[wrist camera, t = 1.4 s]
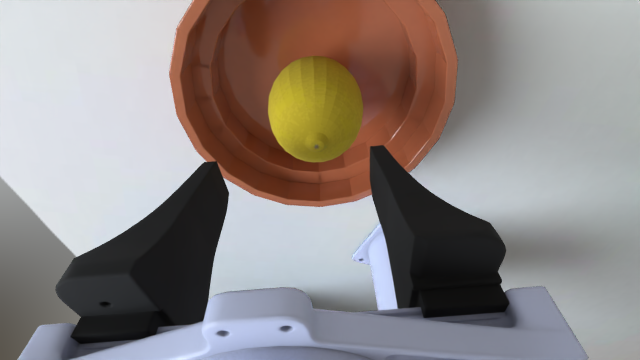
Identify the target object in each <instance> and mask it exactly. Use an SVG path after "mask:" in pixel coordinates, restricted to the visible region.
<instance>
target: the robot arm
mask: <svg viewBox="0 0 640 360" xmlns="http://www.w3.org/2000/svg"><path fill="white" fill-rule="evenodd" d="M370 185H371V191H372V197H373V201H374V204H375V207H376V211H377V214H378V217H379V221H380V224H379V225H378V226H377V227H376V229H375V230H374V231H373V232H372V233H371V234H370V236H369V237H368V238H367V239H366V240H365V241H364V243H363V244H362V245H361V246H360V247H359V249H358V250H357V251H356V252H355V253H354V254H353V256H352V258H353V260H354V261H356V262H360V263H364V264H368V265H371V271H372V277H373V282H374V288H375V294H376V300H377V305H378V310H375V311H362V312H342V311H332V310H322V309H313V307H312V302H311V299H310V298H309V297H308V295H307V294H306V293H305V292H303V291H301V290H298V289H296V288H286V287H280V288H268V289H255V290H243V291H230V292H224V293H220V294H216V295H215V296H213V297H212V298H211V299H210V300H209V301H208V297H209V289H210V281H211V274H212V268H213V261H214V256H215V252H216V248H217V244H218V241H219V237H220V234H221V230H222V227H223V223H224V219H225V216H226V212H227V205H228V197H229V192H228V189H227V187H226V184H225V181H224V179H223V176H222V174H221V171H220V168H219V166H218V163H217V161H212V162H204V163H203V164H202V165H201V166H200V167H199V168H198V169H197V170H196V171H195V172H194V173H193V174H192V175H191V176H190V177H189V178H188V179H187V180H186V181H185V182H184V183H183V184H182V185H181V186H180V187H179V189H178V190H176V191H175V192H174V193H173V194H172V195H171V196H170V197H169V198H168V199H167V200H166V201H165V202H164V203H163V204H161V205H160V206H159V207H158V208H157V209H155V210H154V211H153V212H152V213H150V214H149V215H148V216H147V217H145V218H144V219H143V220H141V221H140V222H138V223H137V224H135V225H134V226H132V227H131V228H129V229H128V230H126V231H125V232H123V233H122V234H120V235H118V236H117V237H115V238H113V239H111V240H110V241H108V242H106V243H104V244H102V245H101V246H99V247H97V248H95V249H93V250H91V251H89V252H87V253H84V254H82V255H80V256H78V257H76V258H74V259H73V261H72V262H71V264H70V265H69V267H68V268H67V270H66V271H65V273H64V274H63V276H62V278H61V279H60V281H59V282H58V284H57V285H56V293H57V295H58V297H59V298H60V299H61V300H62V301H63V302H64V303H65V304H66V305H67V306H69V307H70V308H71V309H72V310H73V311H75V312H76V313H77V314H78V315H79V316H81V318H80V320H79V322H78V324H77V325H75V324H71V323H60V324H48V325H41V326H39V327H38V328H37V330H36V332H35V333H34V335H33V336H32V338H31V339H30V341H29V343H28V344H27V346H26V347H25V349H24V351H23V352H22V354H21V355H20V357H19V358H18V360H588V358H589V357H588V356H587V354H586V352H585V351H584V349H583V348H582V346H581V344H580V343H579V341H578V339H577V338H576V336H575V335H574V333H573V331H572V330H571V328H570V327H569V325H568V323H567V322H566V320H565V318H564V317H563V315H562V314H561V312H560V310H559V309H558V307H557V306H556V304H555V302H554V301H553V299H552V297H551V296H550V294H549V293H548V291H547V289H546V288H545V287H543V286H536V287H523V288H513V289H509V290H507V291H506V292H505V293H504V291H503V289H502V287H501V285H500V284H501V283H502V279H501V277H500V275H499V273H498V270H499V267H500V265H501V263H502V261H503V259H504V256H505V252H506V248H505V245H504V243H503V241H502V240H501V238H500V236H499V235H498V233H497V232H496V230H495V229H494V228H493V227H492V225H491V224H490V223H489V222H487V221H485V220H482V219H480V218H477V217H475V216H472V215H470V214H468V213H466V212H464V211H462V210H460V209H458V208H456V207H454V206H452V205H450V204H449V203H447V202H445V201H444V200H442V199H440V198H439V197H437V196H436V195H434V194H433V193H431V192H430V191H429V190H427V189H426V188H425V187H423V186H422V185H421V184H420V183H419V182H417V181H416V180H415V179H414V178H413V177H412V176H411V175H410V174H409V173H408V172H407V171H406V170H405V169H404V168H403V167H402V166H401V165H400V164H399V163H398V162H397V161H396V160H395V158H394V157H393V156H392V155H391V154H390V152H389V151H388V150H387V149H386V147H385V146H384V145H378V146H370Z"/></svg>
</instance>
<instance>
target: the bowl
mask: <svg viewBox="0 0 640 360" xmlns="http://www.w3.org/2000/svg"><path fill="white" fill-rule="evenodd" d="M308 56H324V57H327V58H330V59H333V60H335V61H337V62H338V63H340V64H341V65H343V66H344V67H345V68H346V69H347V70H348V71H349V72H350V73H351V74H352V76H353V77H354V78H355V80H356V82H357V84H358V87H359V89H360V91H361V96H362V102H363V116H362V124H361V127H360V130H359V133H358V135H357V137H356V139H355V141H354V142H353V144H352V145H351V146H350V147H349V149H348V150H346V151H345V152H344V153H343V154H341V155H340V156H338V157H336V158H334V159H332V160H329V161H325V162H307V161H303V160H300V159H298V158H295V157H294V156H292V155H291V154H289V153H288V152H286V151H285V150H284V148H283V147H282V146H281V145H280V144H279V143H278V141H277V139H276V137H275V136H274V134H273V131H272V129H271V125H270V120H269V115H268V103H269V95H270V92H271V89H272V86H273V83H274V81H275V80H276V78H277V77H278V75H279V74H280V73H281V71H282V70H283V69H284V68H285V67H287V66H288V65H289V64H290V63H291V62H293V61H295V60H298V59H300V58H302V57H308ZM457 66H458V57H457V54H456V50H455V46H454V43H453V39H452V36H451V32H450V28H449V25H448V21H447V18H446V15H445V12H444V11H443V10H442V9H441V7H440V6H439V5H438V3H437V2H436V1H435V0H193V1H192V3H191V4H190V6H189V8H188V9H187V11H186V13H185V14H184V16H183V17H182V19H181V21H180V22H179V24H178V26H177V28H176V34H175V40H174V46H173V52H172V58H171V64H170V70H169V76H170V82H171V87H172V92H173V98H174V103H175V109H176V114H177V117H178V119H179V121H180V122H181V124H182V126H183V128H184V130H185V131H186V133H187V135H188V137H189V139H190V141H191V142H192V144H193V146H194V148H195V150H196V151H197V152H198V153H199V154H200V155H201V156H202V157H203V158H204V159H205V160H206V161H207V162H212V161H217V163H218V166H219V168H220V171H221V174H222V176H223V178H225V179H227V180H229V181H230V182H232V183H234V184H235V185H237V186H239V187H241V188H242V189H244V190H246V191H248V192H249V193H251V194H254V195H255V196H259V197H262V198H265V199H269V200H272V201H275V202H279V203H282V204H285V205H286V204H287V205H298V206H314V207H320V206H321V207H323V206H330V205H336V204H342V203H348V202H354V201H357V200H360V199H362V198H364V197H367V196H369V195H372V191H371V185H370V146H378V145H384V146H385V147H386V149H387V150H388V151H389V152H390V154H391V155H392V156H393V157H394V158H395V160H396V161H397V162H398V163H399V164H400V165H401V166H402V167H403V168H404V169H405V170H406V171H407V172H408V173H409V172H410V171H411V170H413V169H414V168H415V167H416V166H417V165H418V164H419V163H420V161H421V160H422V159H423V158H424V157H425V155H426V154H427V153H428V152H429V151H430V149H431V148H432V147H433V146H434V144H435V143H436V142H437V141H438V140H439V138H440V136H441V133H442V131H443V129H444V126H445V124H446V122H447V119H448V117H449V114H450V112H451V110H452V107H453V105H454V102H455V91H456V79H457Z"/></svg>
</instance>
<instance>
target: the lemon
mask: <svg viewBox="0 0 640 360" xmlns="http://www.w3.org/2000/svg"><path fill="white" fill-rule="evenodd" d="M268 115H269V120H270V125H271V129H272V131H273V134H274V136H275V137H276V139H277V141H278V143H279V144H280V145H281V146H282V147H283V148H284V150H285V151H286V152H288V153H289V154H291V155H292V156H294V157H295V158H298V159H300V160H303V161H307V162H325V161H329V160H332V159H334V158H336V157H338V156H340V155H341V154H343V153H344V152H345V151H346V150H348V149H349V147H350V146H351V145H352V144H353V142H354V141H355V139H356V137H357V135H358V133H359V130H360V127H361V124H362V116H363V102H362V96H361V91H360V89H359V87H358V84H357V82H356V80H355V78H354V77H353V76H352V74H351V73H350V72H349V71H348V70H347V69H346V68H345V67H344V66H343V65H341V64H340V63H338V62H337V61H335V60H333V59H330V58H327V57H324V56H308V57H302V58H300V59H298V60H295V61H293V62H291V63H290V64H289V65H288V66H287V67H285V68H284V69H283V70H282V71H281V73H280V74H279V75H278V77H277V78H276V80H275V81H274V83H273V86H272V89H271V92H270V95H269V103H268Z"/></svg>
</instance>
